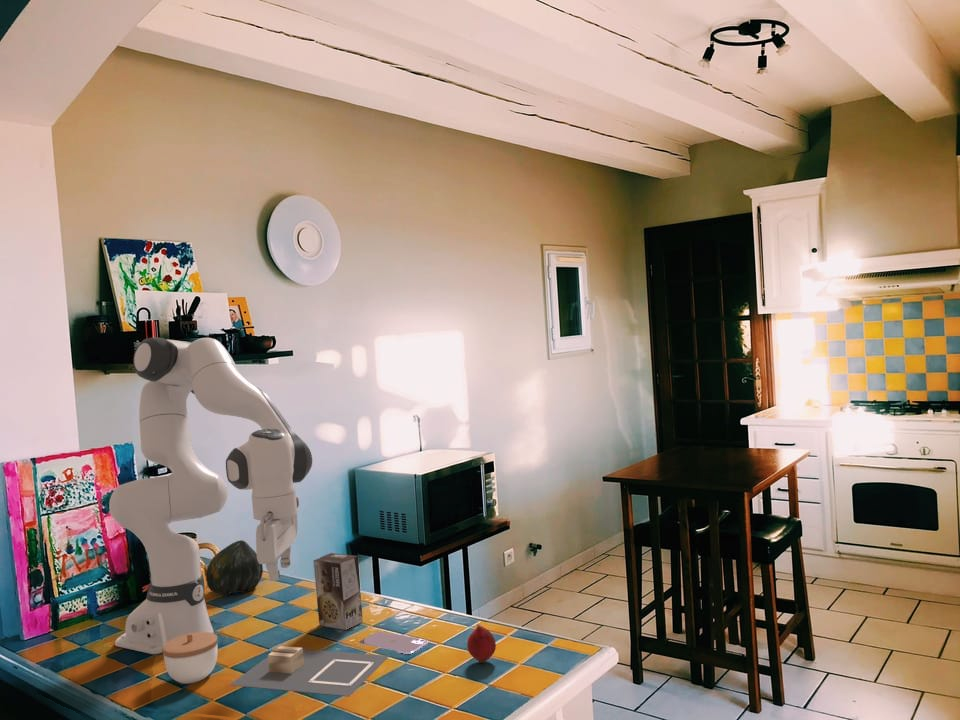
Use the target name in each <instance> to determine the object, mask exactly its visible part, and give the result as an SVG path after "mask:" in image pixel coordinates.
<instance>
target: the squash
mask: <svg viewBox="0 0 960 720" xmlns="http://www.w3.org/2000/svg"><path fill="white" fill-rule="evenodd" d="M263 571H264V567H263V564H259V563H258V560H257V552H256V551H255V550H254V549H253V548H252V546H250V544H248V542H246V541H245V540H242V539H241V540H236V541H234V542H232V543H230V544H229V545H227V546H226V547H224V548H223V549H221V550H220V551H218V552H217V553H216V554H214V556H213V557H212V558H211V560H210V561H209V564H208V566H207V568H206V574H205V581H206V584H207V587H208V589H209V590H210V591H211V592H212V593H213V594H216V595H221V596H226V595H229V594H230V593H231V594H236V593H242V592H251V591H253V590H254V589H256V587H257V586H258V585H259V582H260V581H261V579H262V577H263Z"/></svg>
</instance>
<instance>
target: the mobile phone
mask: <svg viewBox="0 0 960 720" xmlns="http://www.w3.org/2000/svg"><path fill="white" fill-rule="evenodd" d="M358 644H359V645H364V646H369V647H374V648H379V649H386V650H390V651H395V652H396V653H395V654H400V653H403V654H402V655H405V654H411V655H413V654H415V653H416V652H418V651H420V650H421V649H422V648H424V647H425V646H427V645H428V644H429V640H428V639H423V638H419V637H413V636H409V635H407V636H406V635H402V634H396V633H391V632H385V631H375V632H373V633H371V634H370V635H368V636H367V637H365V638H363V639H361V640H359V641H358ZM423 646H424V647H423ZM420 648H421V649H420ZM417 650H418V651H417ZM415 651H416V652H415ZM414 652H415V653H414ZM412 653H413V654H412Z"/></svg>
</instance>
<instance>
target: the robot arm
mask: <svg viewBox="0 0 960 720" xmlns="http://www.w3.org/2000/svg"><path fill="white" fill-rule="evenodd" d="M132 363H133V364H132V365H133V368H134V371H135V373H136V374H137V376H138V377H140V378H142V379H144V380H147V381H148V382H146V383H145V384H144V385H143V387H142V389H141V391H140V398H139V399H140V400H139V409H138V411H139V412H138V413H139V416H138V419H139V422H138V423H139V433H140V434H139V435H140V436H139V437H140V450H141V453H142V455H143V456H144V458H146V459H147V460H148V461H149V462H152V463H155V464H158V465H161V466H164V467H165V468H166V467H167V468H168V469H169V470H170V472H171V474H168V475H163V476H155V477H154V476H153V477H148V478H140V479H135V480H132V481H128V482H125V483H123V484H120V485H117V487H116V488H115V489H114V490H113V491H112V493H111V495H110V499H109V503H108V506H109V507H108V508H109V513H110V516H111V517H112V519H113V521H114V522H115V523H116V524H118V525H119V526H120V527H122V528H124V529H127V530H128V531H130V532H131V533H133V534H134V535H135V536H136V537H137V538H138V539H139V540H140V542H141V543H142V545H143V547H144V549H145V552H146V553H147V559H148V564H149V569H150V580H151V582H149V584H147V585H144V586H143V587H142V589H143V590H142V592H143V593H144V592H147V593H146V599H145V600H143V601H142V602H141V603H140V604H139V605H138V606H137V607H136V608H134V610H133V611H132V612H131V613H129V615H128V616H127V618H126V620H125V632H124V633H122V634H121V635H120V636H119V637H117V639H115V642H114V646H116V647H119V648H123V649H127V650H132V651H133V650H134V651H137V652H142V653H144V654H145V653H146V654H150V655H158V654H163V651H162V648H163V646H164V644H165V643H167V642H168V641H170V640H172V639H174V638H176V637H179V636H182V635H185V634H189V633H195V632H210V633H214V628H213V625H212V623H211V619H210V617H209V612H208V609H207V604H206V600H205V578H204V575H203V573H202V565H201V554H200V546H199V544H198V543H197V541H196V540H195V539H193V538H192V537H191V536H187V535H185V534H180V533H177V532H175V531H173V530H172V529H171V528H170V526H169V524H171V523H173V522H180V521H181V522H182V521H187V520H194V519H201V518H205V517H207V516H211V515H213V514H216V513H218V512H220V511H222V509H223V508H224V506H225V504H226V501H227V499H228V486H227V484H226V481H225V480H224V478H223V477H222V476H221V475H220V474H218V473H217V472H215V471H214V470H211V469H210V468H208V467H207V466H205V465H204V463H203V462H201V461H200V459H199V458H198V457H197V454H196V452H195V450H194V448H193V445H192V440H191V435H190V434H191V433H190V427H189V416H188V408H187V399H188V396H189V395H190V393H192V394H193V395H194V396H195V398H196V401H198V403H199V404H200V405H201V406H202V407H203V408H204V409H205V410H207V411H208V412H211V413H213V414H216V415H221V416H230V417H231V416H232V417H238V418H242V419H245V420H246V419H247V420H250V421H252V422H254V423H255V424H257V425H259V427H260V428H261V429H257V430H255V431H253V432H252V433H250V434H249V437H248V441H246V442H245V443H243V444H242V445H239V446H238V447H234V448H233V449H232V450H231V451H230V453H229V454H228V456H227V458H226V460H225V471H226V478H227V481H228V482H229V483H230V484H231V485H232V486H233V487H234V488H236V489H237V490H244V491H245V490H246V491H247V490H252V492H251V493H252V494H251V503H252V505H251V506H252V515H253V516H252V517H253V519H254V520H256V521H260V523H259V524H258V525H257V526H256V529H255V545H256V546H255V549H256V551H255V552H256V554H257V560H258V563H259V564H262V565H265V568H266V570H267V572H268V577H269V578H268V580H269V582H277V581H278V580H279V579H280V577H281V575H280V569H279V567H278V566H279V565H278V563H279V561H280V563H279V564H280V568H283V569H284V568H289V567H290V566H291V555H292V554H291V553H292V544H293V543H294V542H295V541H296V540H297V536H298V508H299V506H300V501H299V497H298V496H297V494H296V487H295V485H294V483H295V484H296V483H301V482H302V481H303V480H304V479H305V478H306V477H307V476H308V474H309V472H310V470H312V466H313V456H312V452H311V449H310V448H309V445H308V444H307V443H306V442H304V440H303V439H302V438H301V437H300V436H299V435H298V434H296V432H295V431H294V430H293V428H292V427H291V425H290V424H289V423H288V422H287V420H286V419H285V418H284V416H283V415H282V413H281V412H280V410H279V409H278V408H277V407H276V405H275V403H274V401H272V399H271V398H270V397H269V395H268V394H267V393H266V392H265V391H263V390H262V389H260V388H259V387H256V386H255V385H254V384H252V383H251V382H249V381H248V380H247V379H246V378H245V377H244V376H243V375H242V373H241V372H240V370H239V369H238V366H237V364H236V363H235V361H234V359H233V357H232V355H231V354H230V353H229V351H228V350H227V349H226V347H225V346H224V345H223V344H222V343H221V341H219V340H218V339H216V338H212V337H202V338H198V339H196V340H194V341H192V342H189V341H184V340H182V341H181V340H175V339H166V338H164V337H149V338H144V339H143V340H142V341H141V342H140V343H139V344H138V345H137V347H136V348H135V351H134V354H133V359H132ZM279 559H280V560H279Z"/></svg>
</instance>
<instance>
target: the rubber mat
mask: <svg viewBox="0 0 960 720" xmlns="http://www.w3.org/2000/svg"><path fill="white" fill-rule="evenodd" d="M389 657H390V655H385V654H383V655H382V654H371V653H360V652H359V653H357V652H344V651H343V652H342V651H332V650H331V651H330V650H320V649H319V650H318V649H316V650H315V649H305V648H303V659H304V664H303V665H302V666H301V667H300V668H298V669H297V670H296V671H295V672H294V673H292V674H291V673H279V672H269V663H268V656H267V657H265V658H264V659H262V660H261V661H260V662H258V663H257V664H256V665H255V666H253V667H252V668H250V669H249V670H248V671H246V672H245V673H244V674H242V675H241V676H240V677H238V678H237V679H235V680H234V681H233V682H231V683H230V684H229V686H234V687H235V686H236V687H244V688H245V687H246V688H256V689H267V690H277V691H287V692H288V691H289V692H298V693H299V692H300V693H310V694H319V695H320V694H322V695H328V696H330V695H331V696H342V697H350V696H352V694H353V693H355V691H356V690H357V689H358V688H359V687H360V686H361V685H362V684H363V683H365V681H366V680H367V679H368V678H369V677H371V676H372V674H373V673H374V672H375V671H376V670H377V669H378V668H380V666H382V664H384V662H385V661H387V659H388V658H389Z"/></svg>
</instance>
